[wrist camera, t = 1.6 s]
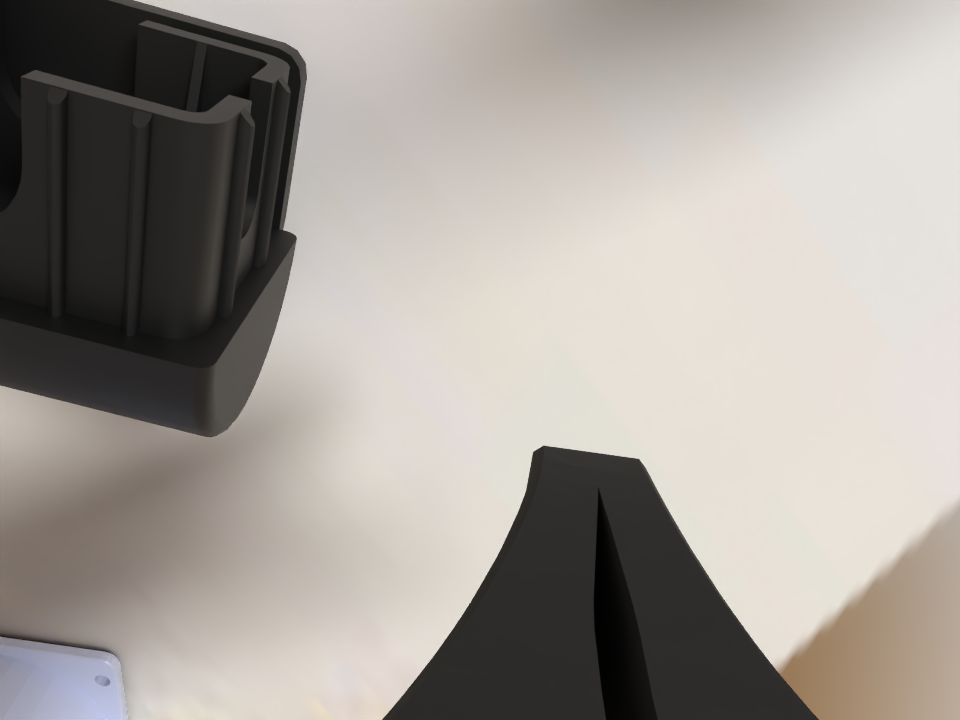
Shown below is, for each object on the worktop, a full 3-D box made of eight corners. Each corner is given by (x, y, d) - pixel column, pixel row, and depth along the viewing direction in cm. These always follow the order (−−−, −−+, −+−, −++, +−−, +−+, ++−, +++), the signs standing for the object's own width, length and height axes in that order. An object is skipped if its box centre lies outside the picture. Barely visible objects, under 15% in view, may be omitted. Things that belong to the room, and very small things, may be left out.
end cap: (-105, 230, 22) (-344, 371, 16) (-136, -77, 18) (-457, -37, 13) (288, 332, 23) (195, 503, 17) (333, 55, 19) (234, 151, 13)
